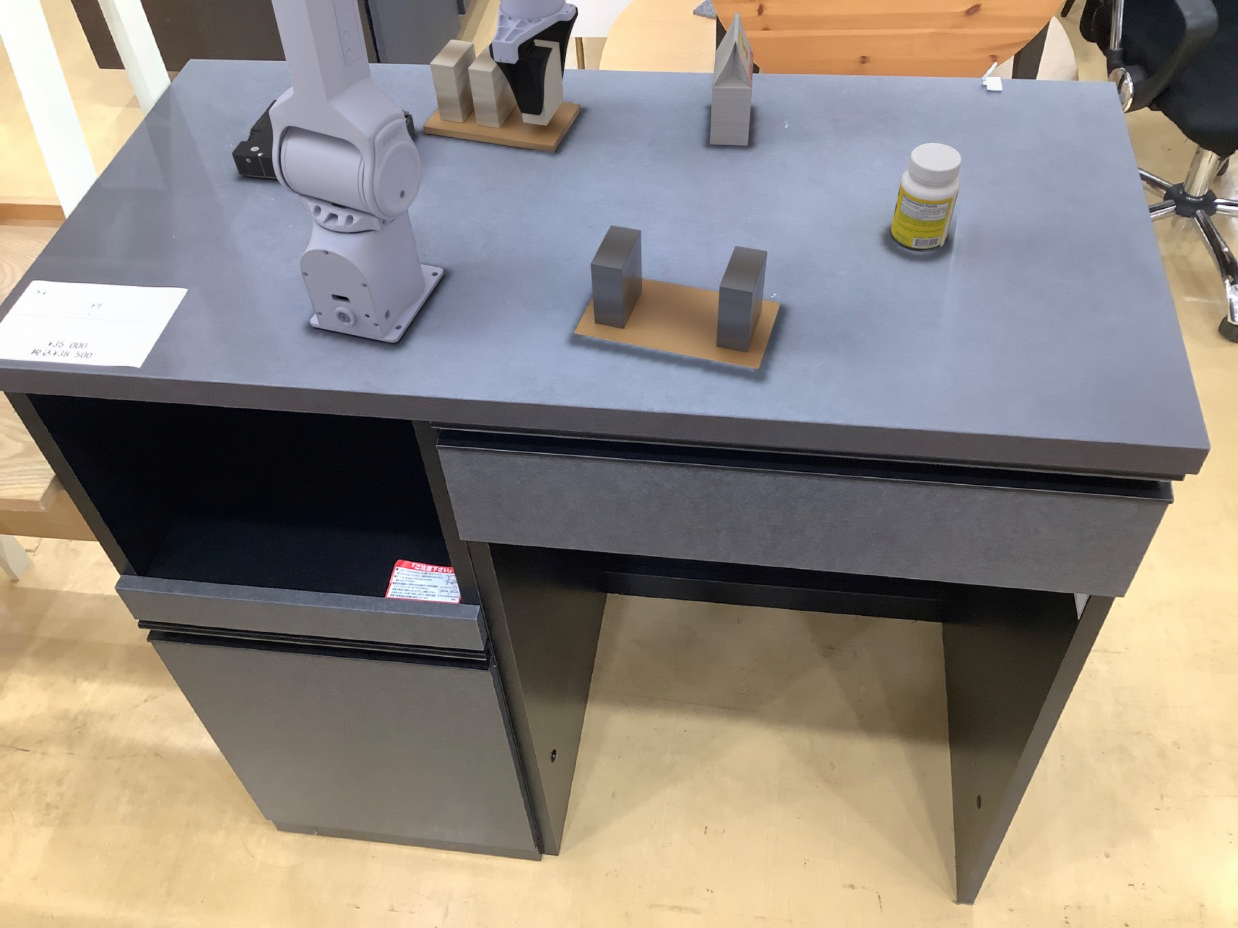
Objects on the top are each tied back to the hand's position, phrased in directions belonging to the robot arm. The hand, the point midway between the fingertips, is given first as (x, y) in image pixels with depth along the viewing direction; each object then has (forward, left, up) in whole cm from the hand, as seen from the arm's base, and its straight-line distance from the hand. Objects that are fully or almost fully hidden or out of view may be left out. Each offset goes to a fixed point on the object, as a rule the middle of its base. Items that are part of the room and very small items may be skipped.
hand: (541, 98), depth 97 cm
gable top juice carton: (+5, -18, -3) cm, 19 cm away
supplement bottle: (-9, -38, -3) cm, 39 cm away
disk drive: (-10, +19, -3) cm, 22 cm away
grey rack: (-25, -20, -3) cm, 32 cm away
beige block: (0, 0, -1) cm, 1 cm away
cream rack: (0, +4, -3) cm, 5 cm away
